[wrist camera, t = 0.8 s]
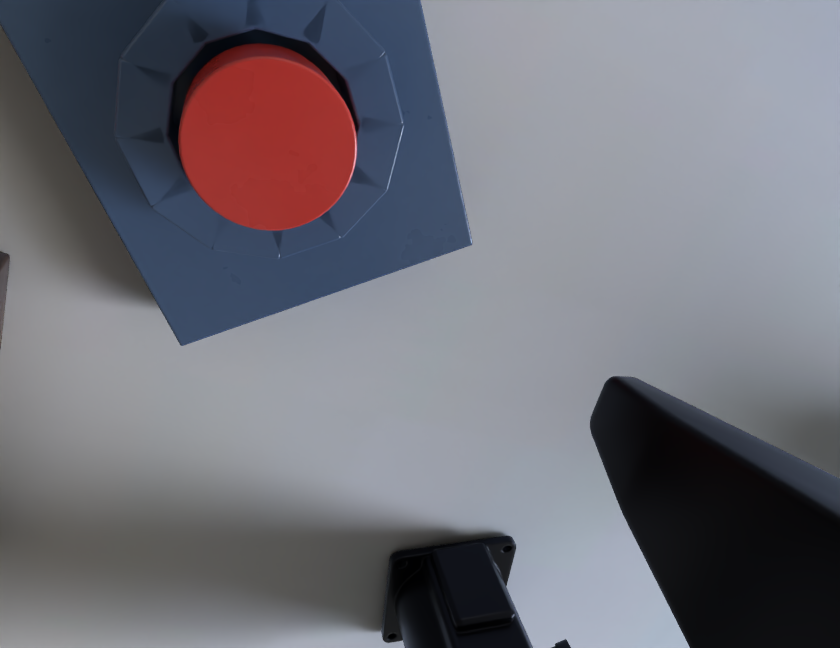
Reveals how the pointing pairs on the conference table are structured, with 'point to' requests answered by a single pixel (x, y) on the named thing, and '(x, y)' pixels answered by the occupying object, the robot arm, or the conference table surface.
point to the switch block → (162, 168)
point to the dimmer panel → (3, 286)
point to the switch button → (266, 137)
